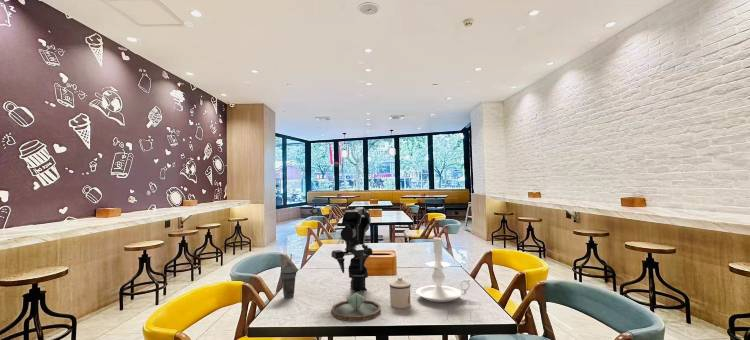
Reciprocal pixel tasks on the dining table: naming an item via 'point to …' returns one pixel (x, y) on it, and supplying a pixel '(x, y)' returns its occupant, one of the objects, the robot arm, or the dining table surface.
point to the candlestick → (440, 280)
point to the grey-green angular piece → (356, 300)
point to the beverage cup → (288, 279)
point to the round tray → (356, 311)
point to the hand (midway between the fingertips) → (352, 271)
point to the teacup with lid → (400, 293)
